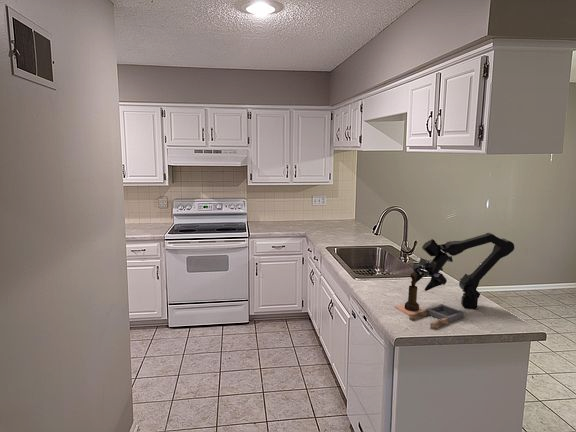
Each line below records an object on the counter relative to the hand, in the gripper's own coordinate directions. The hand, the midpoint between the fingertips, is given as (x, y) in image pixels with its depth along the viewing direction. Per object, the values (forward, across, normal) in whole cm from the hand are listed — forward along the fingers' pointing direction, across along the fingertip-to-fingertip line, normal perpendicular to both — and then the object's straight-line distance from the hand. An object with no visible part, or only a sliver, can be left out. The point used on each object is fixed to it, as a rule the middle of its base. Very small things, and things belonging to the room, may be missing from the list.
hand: (418, 287), depth 199 cm
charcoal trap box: (+3, +11, +13) cm, 17 cm away
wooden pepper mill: (+10, 0, +5) cm, 11 cm away
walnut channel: (+11, +14, +4) cm, 18 cm away
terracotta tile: (+10, 0, +5) cm, 11 cm away
